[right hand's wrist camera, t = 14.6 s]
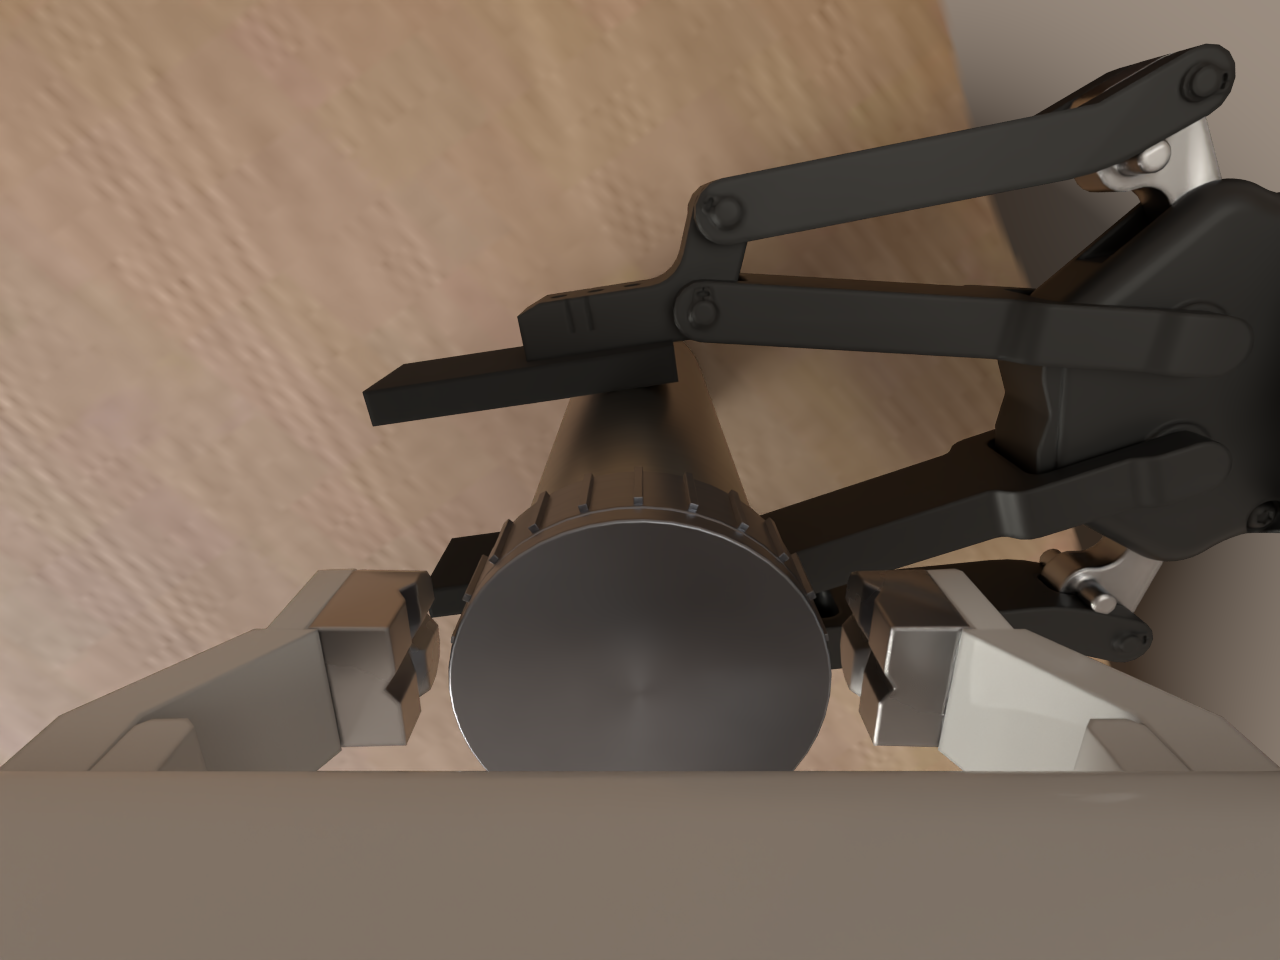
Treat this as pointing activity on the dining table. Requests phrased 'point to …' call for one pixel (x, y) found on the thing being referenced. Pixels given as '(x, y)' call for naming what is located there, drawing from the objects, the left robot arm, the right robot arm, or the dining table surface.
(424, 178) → the dining table surface
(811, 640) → the lid
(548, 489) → the jar
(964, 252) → the dining table surface
